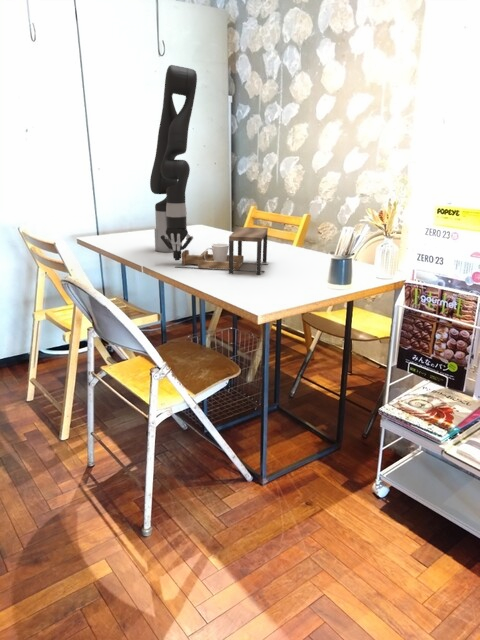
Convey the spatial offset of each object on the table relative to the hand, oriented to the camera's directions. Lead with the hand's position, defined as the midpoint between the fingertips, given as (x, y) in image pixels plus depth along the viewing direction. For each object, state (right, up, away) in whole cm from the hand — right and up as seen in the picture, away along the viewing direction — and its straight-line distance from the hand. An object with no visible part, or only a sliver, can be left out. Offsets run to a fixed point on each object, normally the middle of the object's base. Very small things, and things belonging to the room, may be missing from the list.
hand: (177, 259), depth 194 cm
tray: (+14, -2, -1) cm, 14 cm away
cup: (+15, -3, -1) cm, 16 cm away
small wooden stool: (+28, -3, -3) cm, 28 cm away
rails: (+18, -3, -2) cm, 18 cm away
